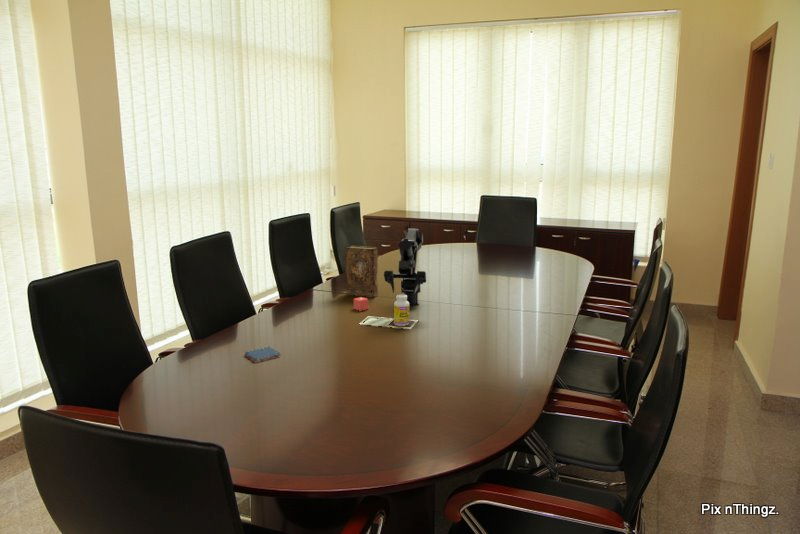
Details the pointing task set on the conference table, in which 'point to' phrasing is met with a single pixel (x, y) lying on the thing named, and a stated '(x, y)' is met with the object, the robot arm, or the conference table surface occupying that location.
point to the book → (361, 271)
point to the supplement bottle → (401, 310)
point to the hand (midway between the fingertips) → (403, 292)
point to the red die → (361, 303)
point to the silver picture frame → (383, 322)
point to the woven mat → (262, 354)
